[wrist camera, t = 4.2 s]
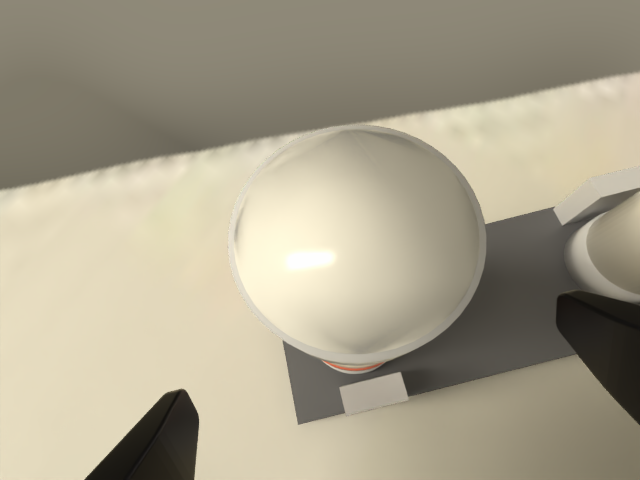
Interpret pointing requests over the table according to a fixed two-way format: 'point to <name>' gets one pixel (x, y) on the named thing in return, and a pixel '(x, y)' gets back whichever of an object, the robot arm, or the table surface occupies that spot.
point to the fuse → (608, 253)
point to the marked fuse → (357, 244)
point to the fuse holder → (477, 313)
